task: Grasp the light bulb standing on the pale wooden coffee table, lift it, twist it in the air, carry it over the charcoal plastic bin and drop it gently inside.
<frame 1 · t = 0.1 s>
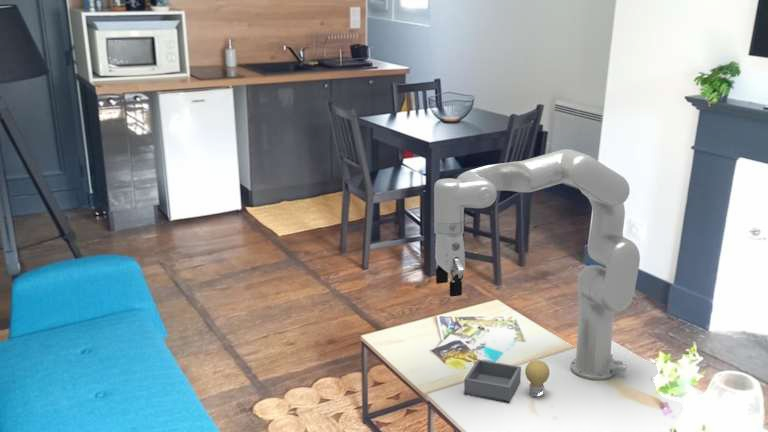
hand: (448, 289, 191), 31 cm above the table, tool pointing down, fingers open, 9 cm apart
bin: (492, 388, 202), on the table
light bulb: (536, 395, 198), on the table
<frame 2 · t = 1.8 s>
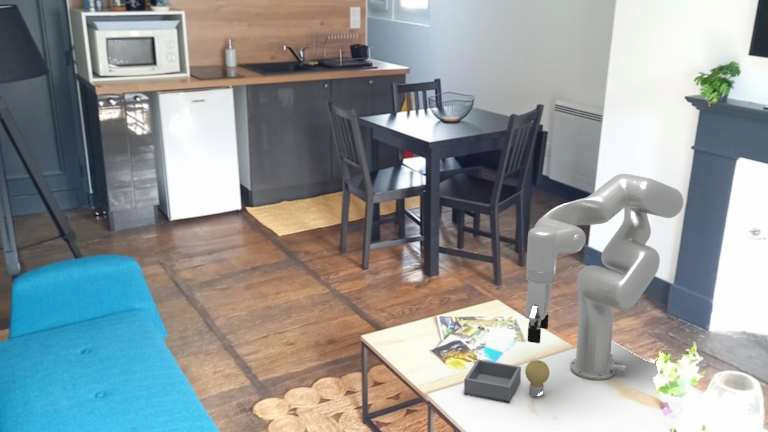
hand: (537, 334, 193), 18 cm above the table, tool pointing down, fingers open, 9 cm apart
nothing on the table moved.
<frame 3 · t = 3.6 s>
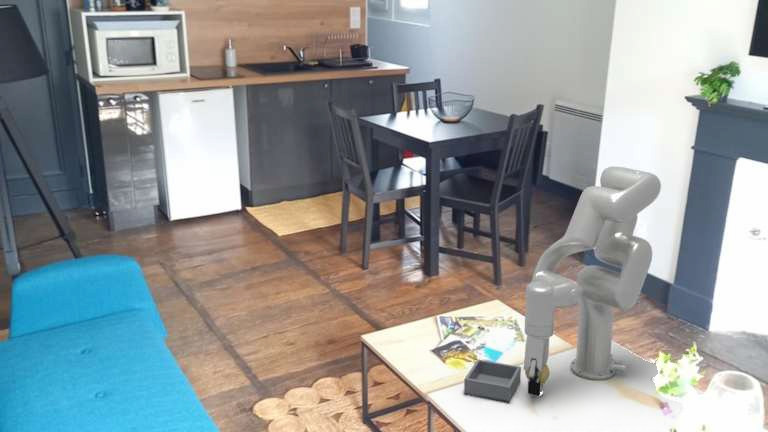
hand: (536, 387, 197), 2 cm above the table, tool pointing down, fingers closed on light bulb, 6 cm apart
light bulb: (536, 395, 198), on the table, touching gripper
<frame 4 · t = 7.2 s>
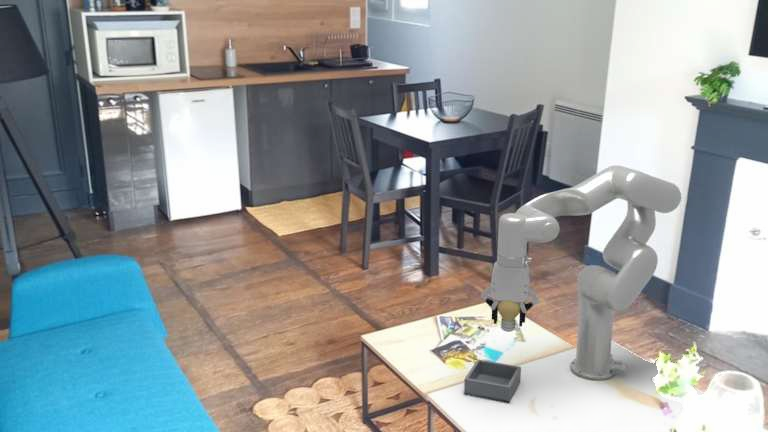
hand: (508, 322, 196), 20 cm above the table, tool pointing down, fingers closed on light bulb, 6 cm apart
light bulb: (507, 330, 196), point 18 cm above the table, touching gripper
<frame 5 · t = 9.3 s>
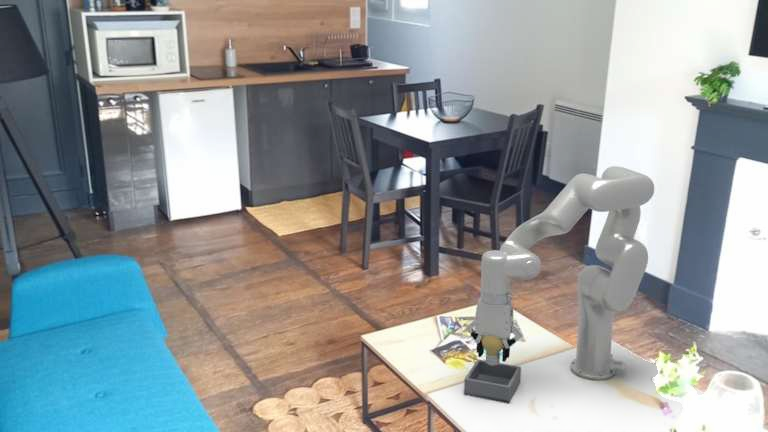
hand: (492, 356, 199), 10 cm above the table, tool pointing down, fingers closed on light bulb, 6 cm apart
light bulb: (492, 364, 200), point 7 cm above the table, touching gripper
when the fingers open (5 cm above the table, at t = 10.7 s): light bulb drops 2 cm, resting on bin.
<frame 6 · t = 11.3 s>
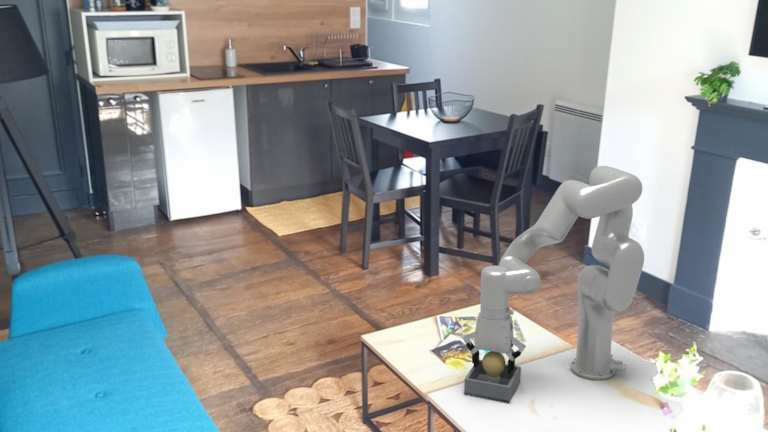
hand: (493, 368, 200), 6 cm above the table, tool pointing down, fingers open, 9 cm apart
light bulb: (492, 386, 202), point 1 cm above the table, touching bin
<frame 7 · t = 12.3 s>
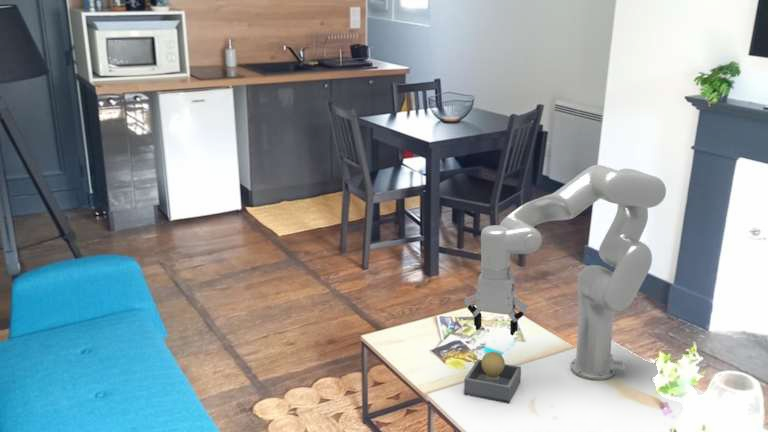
hand: (495, 330, 197), 17 cm above the table, tool pointing down, fingers open, 9 cm apart
nothing on the table moved.
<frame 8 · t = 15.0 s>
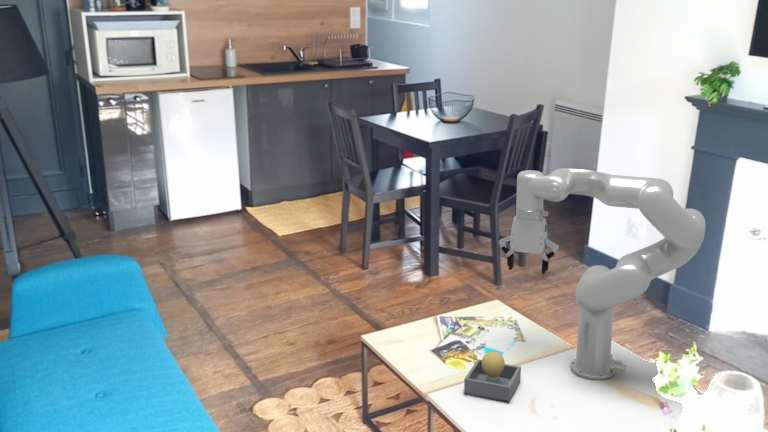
hand: (527, 270, 211), 28 cm above the table, tool pointing down, fingers open, 9 cm apart
nothing on the table moved.
at the end: light bulb inside the target area on the bin (0.1 cm from its centre), point 0.6 cm above the bin's base; the gripper is holding nothing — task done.
